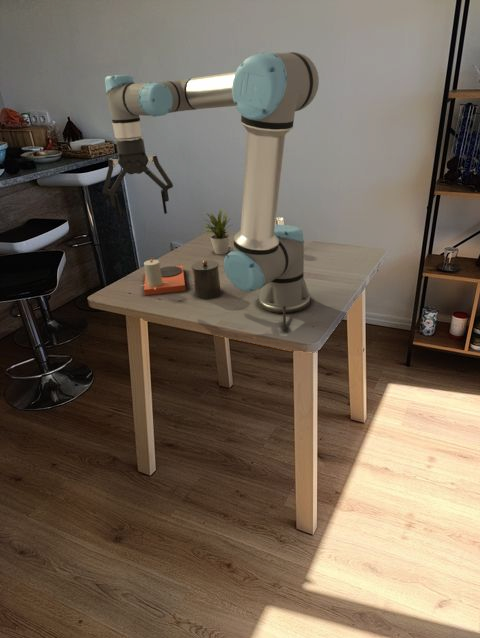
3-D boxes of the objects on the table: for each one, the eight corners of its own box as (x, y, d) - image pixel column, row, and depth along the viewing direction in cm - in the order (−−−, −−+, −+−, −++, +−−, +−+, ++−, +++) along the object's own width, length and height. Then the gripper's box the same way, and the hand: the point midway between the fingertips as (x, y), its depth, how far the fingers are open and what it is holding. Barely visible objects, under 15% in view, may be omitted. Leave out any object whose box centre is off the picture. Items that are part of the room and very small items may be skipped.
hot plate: (185, 291, 155) (184, 285, 154) (141, 297, 153) (140, 290, 152) (183, 270, 171) (182, 264, 170) (143, 275, 169) (142, 269, 168)
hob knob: (162, 286, 155) (158, 263, 151) (147, 287, 154) (143, 264, 150) (162, 280, 159) (158, 258, 155) (147, 282, 158) (143, 259, 154)
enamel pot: (222, 297, 150) (219, 263, 144) (196, 300, 149) (191, 266, 143) (219, 286, 157) (216, 254, 151) (194, 289, 156) (190, 257, 150)
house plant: (204, 245, 193) (199, 204, 185) (238, 244, 193) (235, 203, 184) (200, 258, 181) (195, 215, 173) (236, 256, 181) (233, 213, 172)
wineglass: (282, 246, 188) (281, 216, 182) (288, 250, 183) (287, 219, 177) (268, 249, 186) (267, 218, 180) (274, 253, 182) (273, 222, 175)
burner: (182, 275, 162) (182, 274, 162) (155, 278, 161) (154, 277, 160) (181, 265, 170) (181, 265, 169) (155, 268, 168) (155, 268, 168)
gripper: (173, 133, 139) (183, 207, 150) (85, 140, 135) (101, 215, 146) (174, 136, 132) (184, 213, 143) (81, 144, 129) (99, 222, 140)
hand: (142, 214), depth 145 cm, fingers open, 13 cm apart
